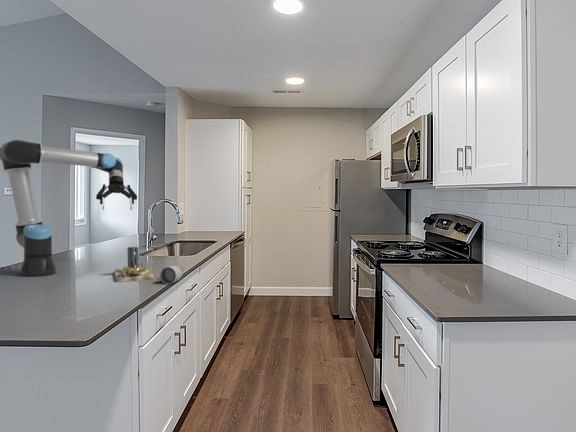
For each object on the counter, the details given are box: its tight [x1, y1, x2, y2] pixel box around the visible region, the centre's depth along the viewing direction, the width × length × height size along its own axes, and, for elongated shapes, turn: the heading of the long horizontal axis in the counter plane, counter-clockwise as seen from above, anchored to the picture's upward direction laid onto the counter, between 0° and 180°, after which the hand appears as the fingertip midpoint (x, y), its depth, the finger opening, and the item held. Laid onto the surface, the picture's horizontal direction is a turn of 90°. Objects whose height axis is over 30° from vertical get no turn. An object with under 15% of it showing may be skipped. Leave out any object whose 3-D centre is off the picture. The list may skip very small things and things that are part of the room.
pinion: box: [126, 246, 140, 267], centre depth 207 cm, size 5×5×12 cm
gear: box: [122, 265, 147, 276], centre depth 199 cm, size 10×10×5 cm
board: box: [114, 262, 155, 283], centre depth 205 cm, size 16×25×4 cm, turn 24°
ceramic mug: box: [156, 265, 183, 285], centre depth 192 cm, size 11×8×8 cm
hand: (117, 208), depth 224 cm, fingers open, 13 cm apart
